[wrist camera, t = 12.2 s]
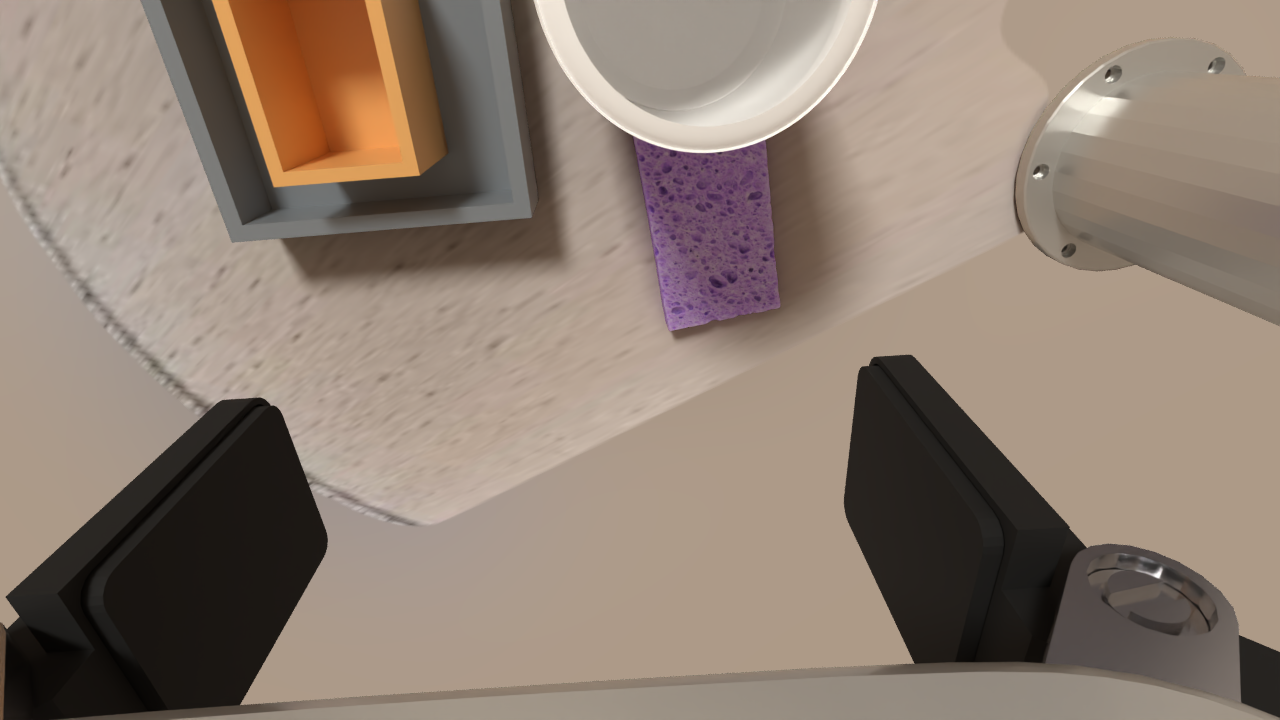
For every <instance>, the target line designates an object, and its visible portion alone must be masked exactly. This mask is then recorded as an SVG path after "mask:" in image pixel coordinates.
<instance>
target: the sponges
mask: <svg viewBox="0 0 1280 720" xmlns="http://www.w3.org/2000/svg"><path fill="white" fill-rule="evenodd" d="M633 140H634V145H635V150H636V154H637V161H638V167H639V173H640V177H641V183H642V188H643V194H644V199H645V203H646V210H647V216H648V221H649V226H650V232H651V239H652V244H653V249H654V256H655V262H656V267H657V274H658V281H659V286H660V293H661V299H662V305H663V310H664V314H665V321H666V323H667V326H668V330H669V331H673V330H678V329H683V328H687V327H694V326H697V325H702V324H707V323H708V322H710V321H712V320H719V321H721V320H724V319H728V318H735V317H736V316H738V315H746V314H751V313H753V312H755V313H760V312H764V311H767V310H770V309H777V308H780V297H779V292H778V278H777V271H776V260H775V257H774V234H773V222H772V209H771V204H770V200H771V197H770V186H769V175H768V167H767V150H766V141H765V140H763V141H761V142H758V143H755V144H753V145H750V146H746V147H743V148H739V149H735V150H730V151H723V152H714V153H692V152H683V151H676V150H671V149H667V148H663V147H660V146H657V145H654V144H651V143H648V142H646V141H643V140H641V139H639V138H637V137H635V136H633Z"/></svg>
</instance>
